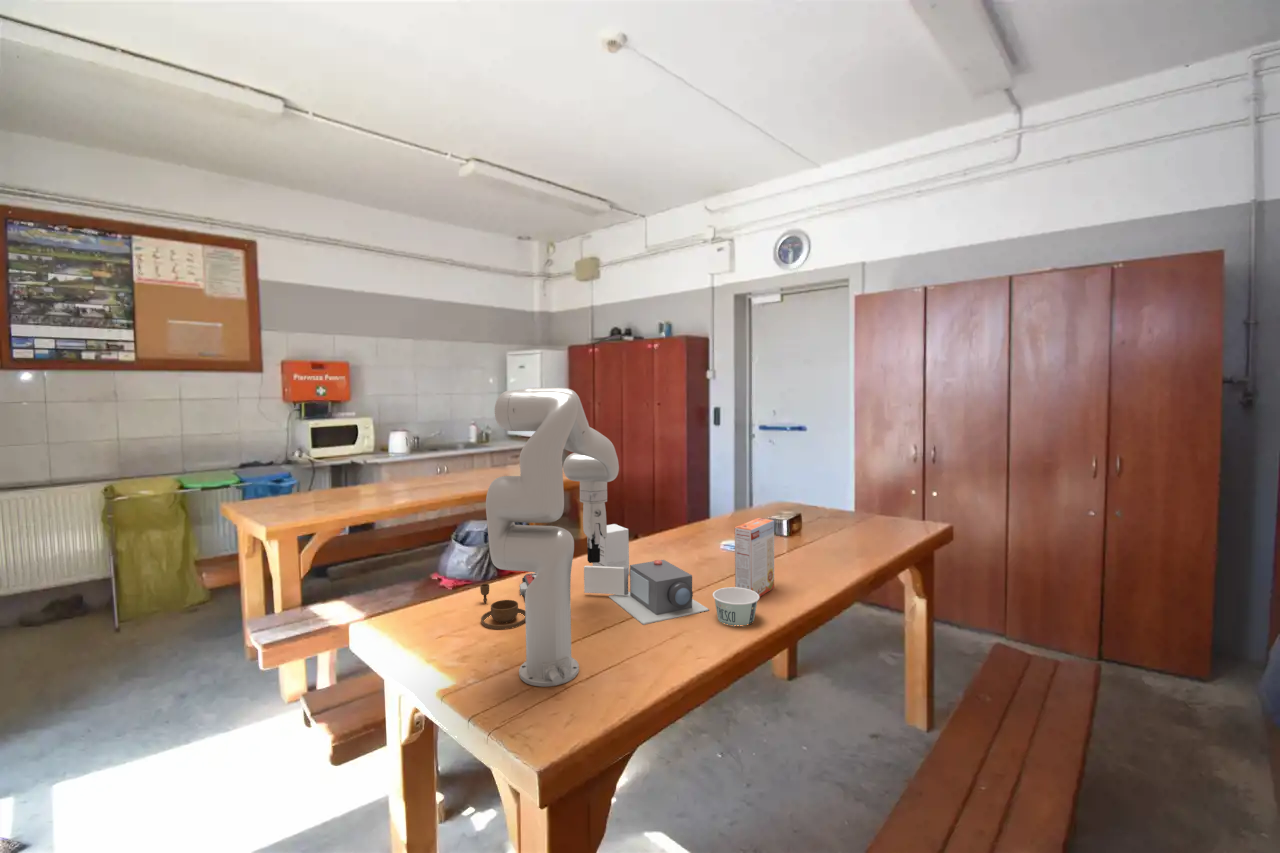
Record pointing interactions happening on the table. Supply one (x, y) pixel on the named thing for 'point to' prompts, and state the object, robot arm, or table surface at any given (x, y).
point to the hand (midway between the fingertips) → (593, 561)
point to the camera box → (658, 593)
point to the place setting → (501, 611)
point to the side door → (606, 580)
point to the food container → (735, 605)
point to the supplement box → (614, 547)
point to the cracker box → (755, 555)
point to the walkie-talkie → (526, 582)
